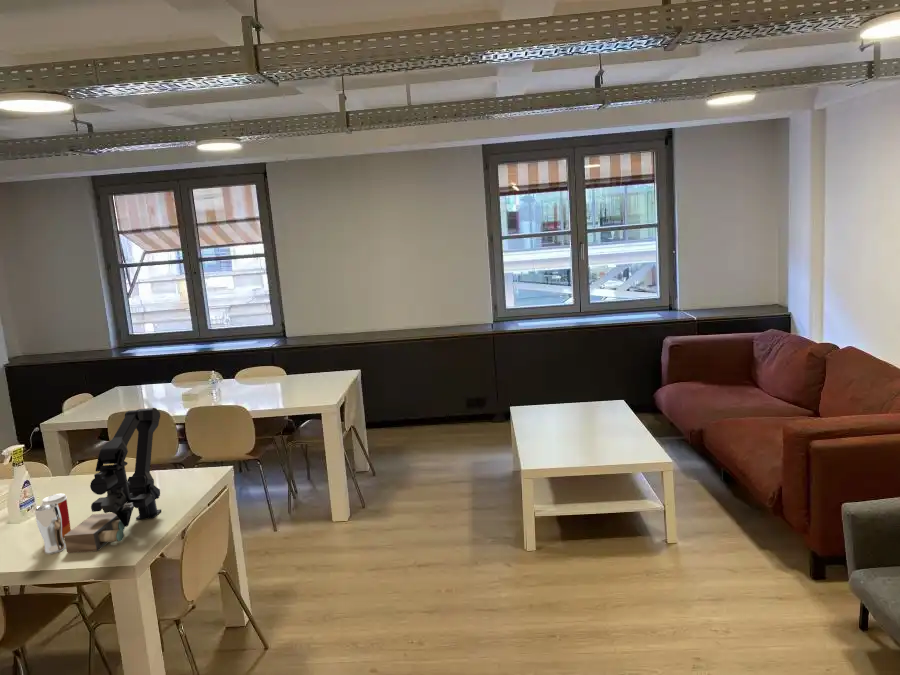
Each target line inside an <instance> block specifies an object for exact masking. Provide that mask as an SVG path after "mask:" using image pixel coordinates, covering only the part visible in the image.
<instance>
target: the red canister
mask: <svg viewBox="0 0 900 675" xmlns="http://www.w3.org/2000/svg"><path fill="white" fill-rule="evenodd" d="M67 499H68V496H67V495H66V494H65V493H63V492H62V493H61V492H60V493H54V494H51V495H49V496H46V497H44V498H42V501H41V506H42V505H45V504H49V503H57V504H58V507H59V510H60V513H61V518H62V537H63V539H64V535H65V534H67V533H68V532H69V531H71V530H72V529H71V522H70V521H71V520H70V515H69V509H68V508H69V507H68V500H67Z"/></svg>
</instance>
